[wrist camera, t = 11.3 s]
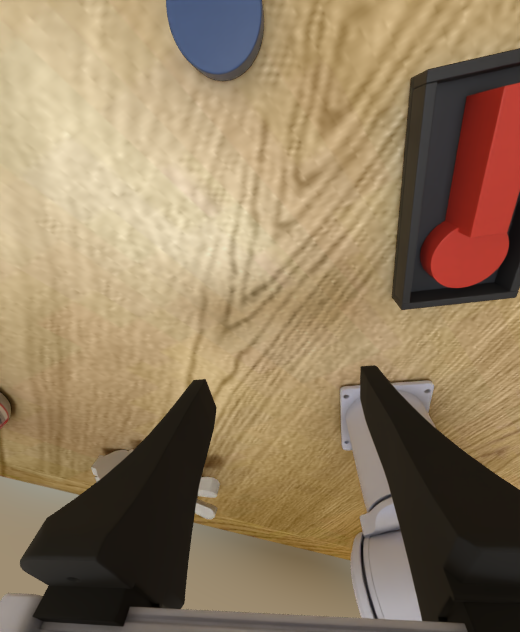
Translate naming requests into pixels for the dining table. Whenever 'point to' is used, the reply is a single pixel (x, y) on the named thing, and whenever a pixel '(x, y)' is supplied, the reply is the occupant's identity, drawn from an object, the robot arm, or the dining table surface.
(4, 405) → the soda can
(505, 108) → the red spoon
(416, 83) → the tray
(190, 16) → the blue spoon
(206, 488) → the white faceted figure
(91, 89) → the dining table surface
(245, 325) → the dining table surface
